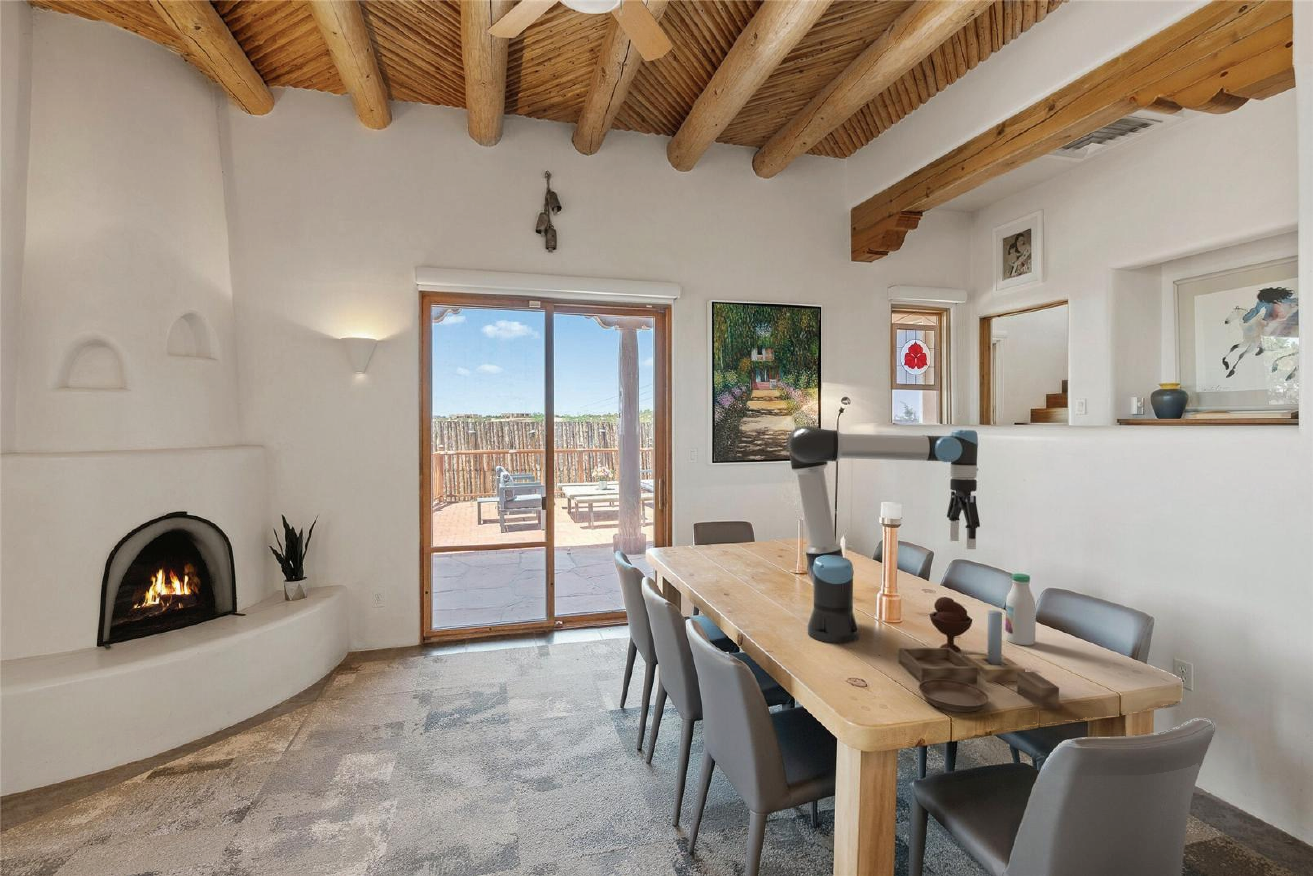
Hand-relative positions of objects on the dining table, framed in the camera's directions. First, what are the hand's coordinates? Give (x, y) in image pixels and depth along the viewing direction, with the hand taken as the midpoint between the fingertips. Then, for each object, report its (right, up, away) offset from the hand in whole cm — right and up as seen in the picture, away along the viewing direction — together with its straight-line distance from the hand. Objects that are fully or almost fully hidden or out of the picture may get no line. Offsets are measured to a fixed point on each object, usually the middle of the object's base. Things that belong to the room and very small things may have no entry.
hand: (962, 544), depth 196 cm
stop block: (-8, -27, -52) cm, 60 cm away
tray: (-25, -27, -36) cm, 51 cm away
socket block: (-10, -27, -36) cm, 46 cm away
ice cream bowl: (-13, -27, -19) cm, 36 cm away
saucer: (-28, -28, -53) cm, 66 cm away
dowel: (-10, -27, -36) cm, 46 cm away
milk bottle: (+11, -27, -13) cm, 32 cm away
